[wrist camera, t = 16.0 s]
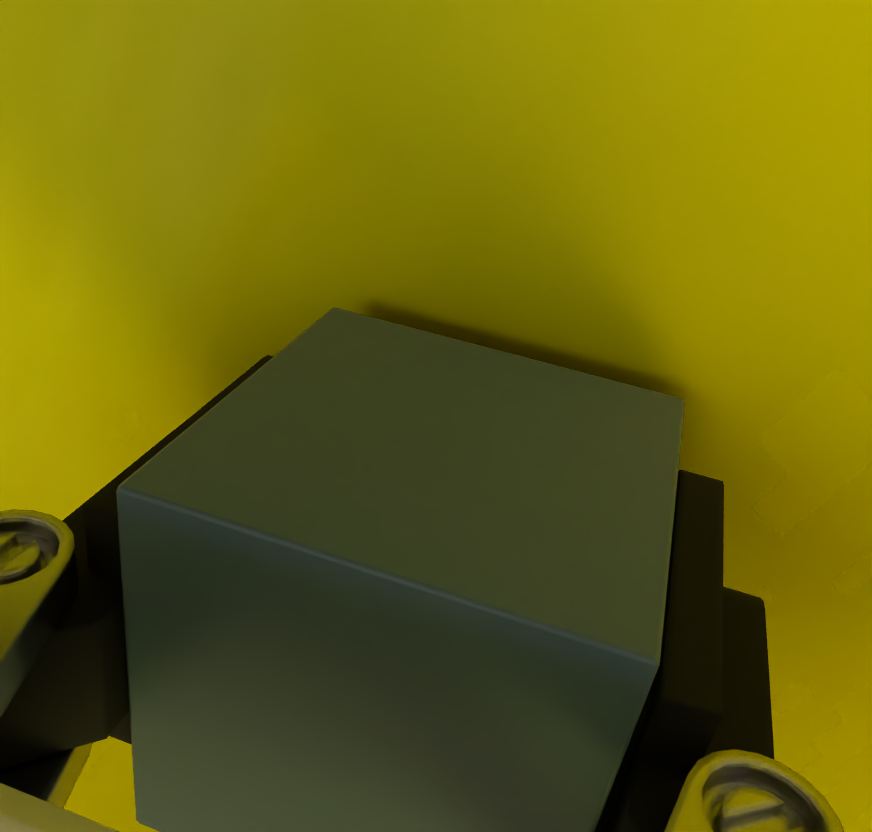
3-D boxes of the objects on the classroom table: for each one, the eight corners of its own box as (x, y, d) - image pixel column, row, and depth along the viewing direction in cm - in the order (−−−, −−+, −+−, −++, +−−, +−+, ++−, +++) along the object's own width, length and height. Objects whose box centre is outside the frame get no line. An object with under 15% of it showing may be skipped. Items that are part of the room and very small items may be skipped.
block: (596, 668, 12) (535, 987, 8) (309, 573, 13) (133, 824, 9) (686, 396, 10) (661, 663, 6) (332, 304, 11) (114, 486, 7)
